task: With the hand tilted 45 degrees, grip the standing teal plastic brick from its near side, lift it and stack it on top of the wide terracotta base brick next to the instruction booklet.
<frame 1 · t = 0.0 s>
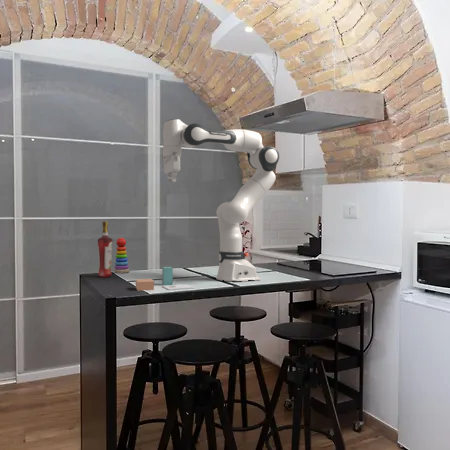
hand: (171, 182, 227), 48 cm above the table, tool pointing down, fingers open, 8 cm apart
base brick: (144, 289, 209), on the table
teal brick: (167, 284, 221), on the table
liquor: (104, 277, 241), on the table
stacking toy: (121, 272, 257), on the table
instruction booklet: (177, 287, 213), on the table
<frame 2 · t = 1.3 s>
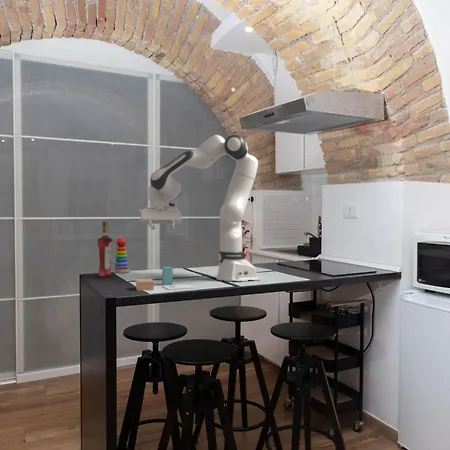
hand: (162, 228, 231), 25 cm above the table, tool tilted 45°, fingers open, 8 cm apart
nothing on the table moved.
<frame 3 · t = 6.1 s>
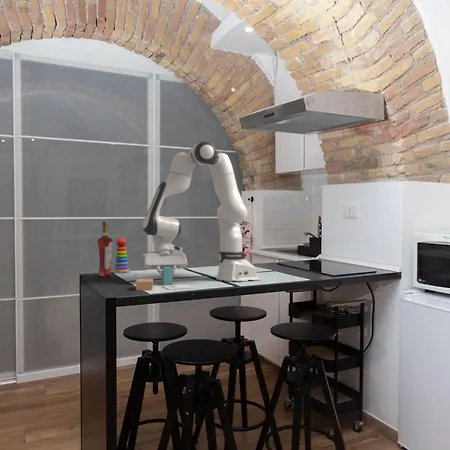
hand: (167, 274, 220), 5 cm above the table, tool tilted 45°, fingers closed on teal brick, 4 cm apart
teal brick: (167, 284, 221), on the table, touching gripper
everything else where it was.
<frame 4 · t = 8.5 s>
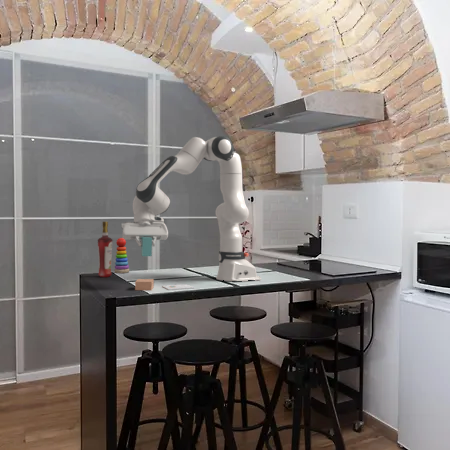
hand: (146, 245, 209), 19 cm above the table, tool tilted 45°, fingers closed on teal brick, 4 cm apart
teal brick: (146, 255, 209), point 14 cm above the table, touching gripper
everything else where it was.
when the fingers open (10 cm above the table, at t = 11.0 s): teal brick drops 2 cm, point 4 cm above the table.
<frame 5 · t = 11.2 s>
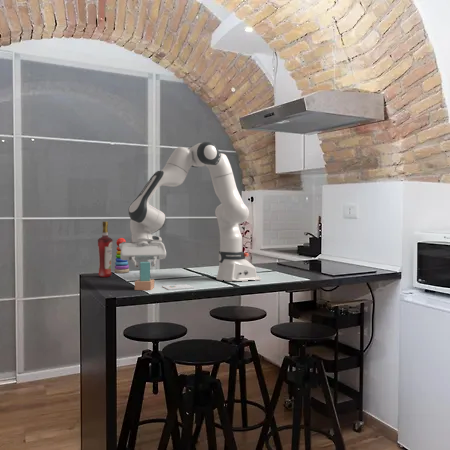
hand: (145, 266, 207), 10 cm above the table, tool tilted 45°, fingers open, 6 cm apart
teal brick: (144, 280, 208), point 4 cm above the table
everything else where it was.
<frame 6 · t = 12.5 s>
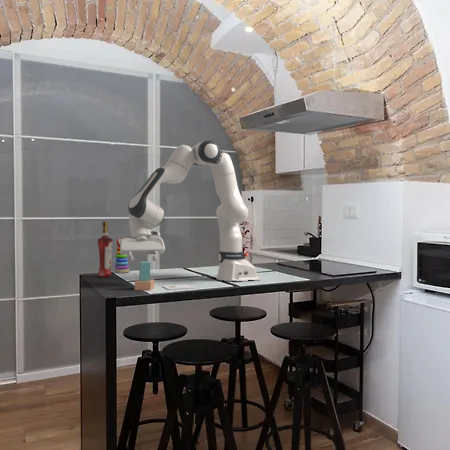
hand: (144, 260, 211), 12 cm above the table, tool tilted 45°, fingers open, 8 cm apart
base brick: (144, 289, 208), on the table, touching teal brick
teal brick: (144, 280, 209), point 4 cm above the table, touching base brick
everything else where it was.
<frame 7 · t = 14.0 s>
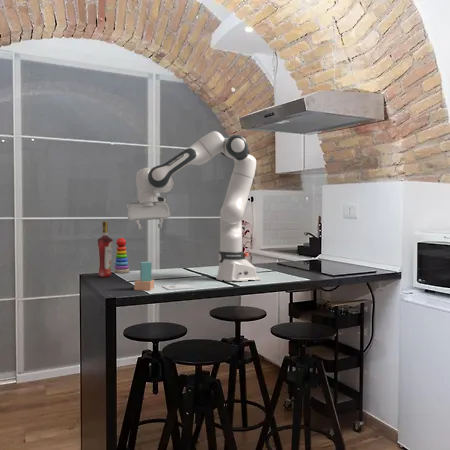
hand: (150, 228, 228), 26 cm above the table, tool tilted 15°, fingers open, 8 cm apart
base brick: (144, 289, 208), on the table
teal brick: (145, 280, 208), point 4 cm above the table
everything else where it was.
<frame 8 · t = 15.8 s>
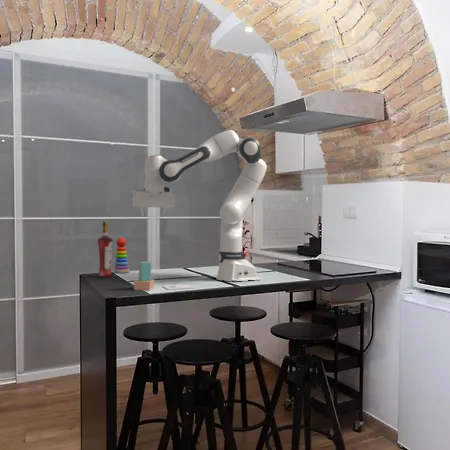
hand: (153, 216, 233), 31 cm above the table, tool pointing down, fingers open, 8 cm apart
base brick: (144, 289, 208), on the table, touching teal brick
teal brick: (144, 280, 208), point 4 cm above the table, touching base brick
everything else where it was.
at the end: teal brick 0.3 cm off-centre on the base brick, point 4.0 cm above the base brick's base; teal brick tilted 0°; base brick moved 0.4 cm from its start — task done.
